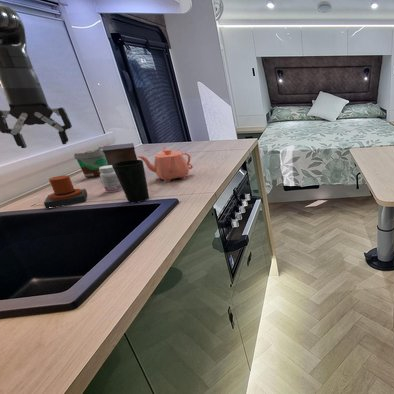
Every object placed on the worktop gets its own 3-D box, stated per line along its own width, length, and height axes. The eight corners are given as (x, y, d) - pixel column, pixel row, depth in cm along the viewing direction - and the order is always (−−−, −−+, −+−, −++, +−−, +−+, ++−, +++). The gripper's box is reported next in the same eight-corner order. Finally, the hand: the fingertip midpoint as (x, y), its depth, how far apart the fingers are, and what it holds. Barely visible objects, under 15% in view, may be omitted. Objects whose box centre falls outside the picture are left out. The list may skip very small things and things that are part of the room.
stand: (46, 209, 86) (43, 202, 85) (50, 200, 92) (48, 195, 91) (85, 201, 91) (83, 195, 90) (87, 194, 97) (85, 188, 96)
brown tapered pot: (113, 182, 108) (102, 150, 104) (113, 176, 115) (103, 146, 111) (143, 177, 114) (134, 146, 109) (141, 171, 120) (133, 143, 116)
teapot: (179, 184, 106) (172, 154, 101) (143, 183, 107) (134, 154, 103) (202, 172, 119) (196, 145, 115) (170, 171, 120) (163, 145, 116)
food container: (98, 179, 112) (89, 153, 108) (82, 179, 112) (72, 153, 108) (121, 169, 123) (114, 146, 119) (107, 170, 123) (99, 146, 119)
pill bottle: (104, 190, 100) (96, 167, 97) (121, 186, 103) (113, 164, 100) (107, 193, 97) (98, 169, 94) (124, 190, 100) (116, 166, 97)
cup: (158, 195, 95) (148, 160, 91) (138, 204, 88) (126, 167, 84) (139, 194, 97) (128, 159, 92) (118, 202, 90) (105, 165, 85)
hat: (47, 201, 86) (39, 183, 84) (51, 194, 91) (44, 177, 89) (81, 196, 90) (74, 178, 88) (83, 189, 96) (76, 172, 94)
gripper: (59, 86, 85) (78, 141, 91) (-13, 86, 77) (13, 146, 83) (55, 86, 80) (76, 144, 86) (-24, 86, 72) (5, 151, 78)
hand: (45, 145), depth 85 cm, fingers open, 8 cm apart
